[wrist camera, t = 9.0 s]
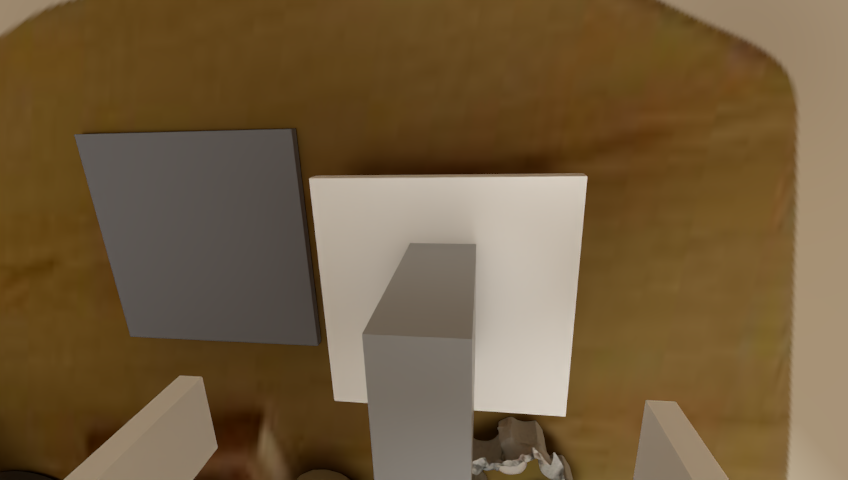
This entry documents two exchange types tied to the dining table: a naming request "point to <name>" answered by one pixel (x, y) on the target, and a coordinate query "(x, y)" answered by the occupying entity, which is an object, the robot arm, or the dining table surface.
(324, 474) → the squeeze bottle
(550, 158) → the dining table surface
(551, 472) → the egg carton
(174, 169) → the rubber mat
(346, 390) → the cover sheet
